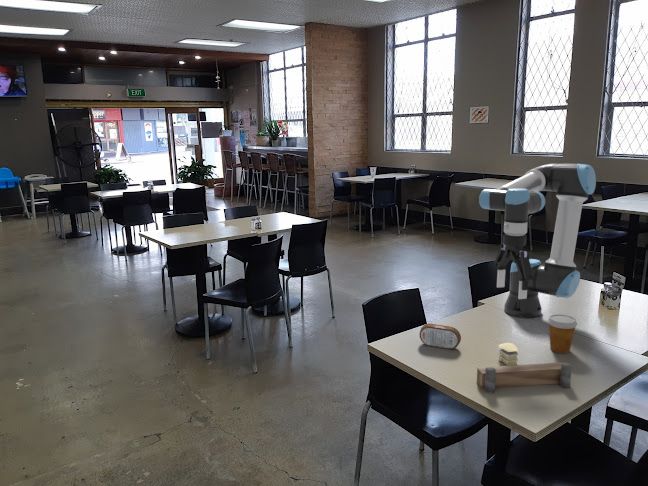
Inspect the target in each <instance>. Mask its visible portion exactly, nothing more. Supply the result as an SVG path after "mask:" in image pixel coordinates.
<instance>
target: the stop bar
mask: <svg viewBox="0 0 648 486" xmlns="http://www.w3.org/2000/svg"><path fill="white" fill-rule="evenodd" d="M572 368H573V365H572V364H571V363H569V362H561V361H560V362H550V363H549V362H548V363H547V362H546V363H530V364H529V363H528V364H516V365H497V366H496V365H495V366H483V367H481V366H480V367H479V366H478V367H477V368H476V383H477V384H478V386H479V387H480V389H484V392H486V393H490V394H493V393H495V392H496V388H505V387H507V388H509V387H525V386H539V385H550V384H551V385H554V384H556V385H557V384H558V385H559V387H561V388H564V389H569V388H570V387H571V381H572V371H573V370H572Z"/></svg>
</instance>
